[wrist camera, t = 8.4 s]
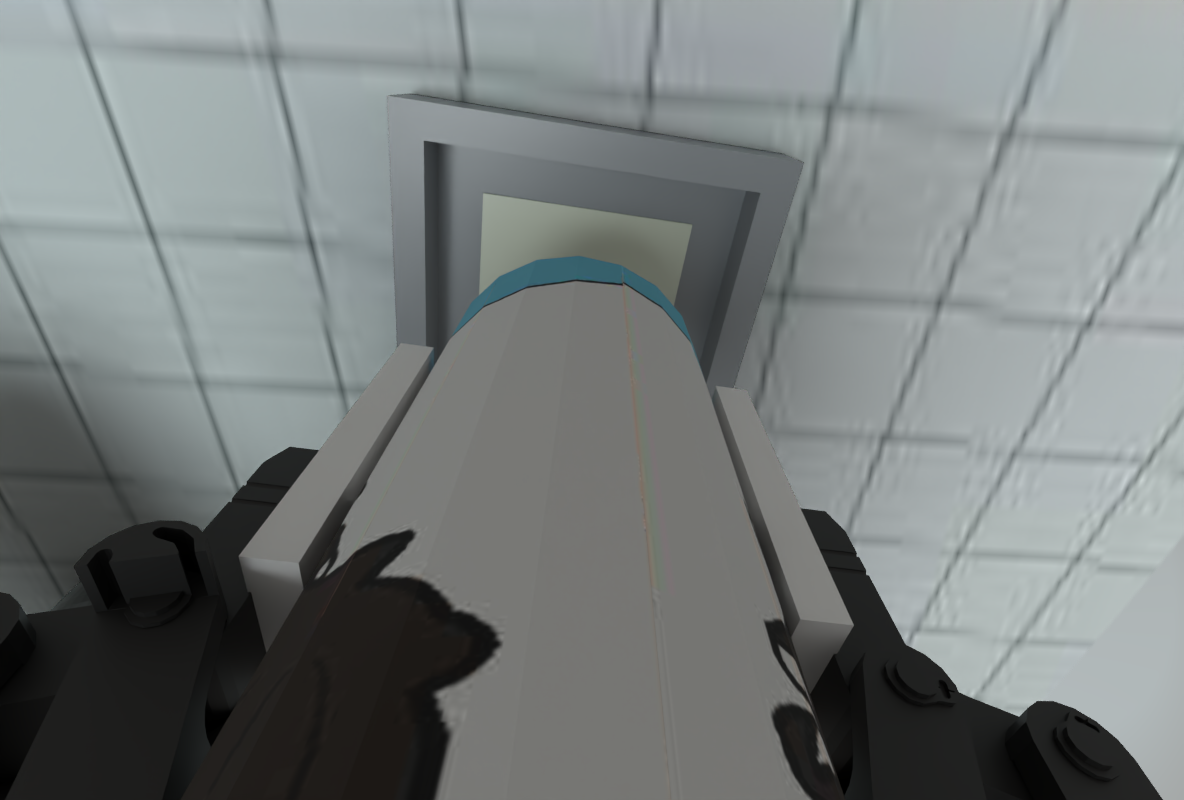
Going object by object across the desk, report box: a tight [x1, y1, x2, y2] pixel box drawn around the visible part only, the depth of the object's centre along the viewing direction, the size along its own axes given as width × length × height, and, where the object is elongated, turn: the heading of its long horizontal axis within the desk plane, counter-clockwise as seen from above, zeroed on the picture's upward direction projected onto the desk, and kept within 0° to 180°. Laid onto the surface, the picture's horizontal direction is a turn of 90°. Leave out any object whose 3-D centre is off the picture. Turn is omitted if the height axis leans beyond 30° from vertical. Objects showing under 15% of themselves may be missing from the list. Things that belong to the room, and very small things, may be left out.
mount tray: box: [387, 94, 804, 400], centre depth 20 cm, size 12×12×2 cm
